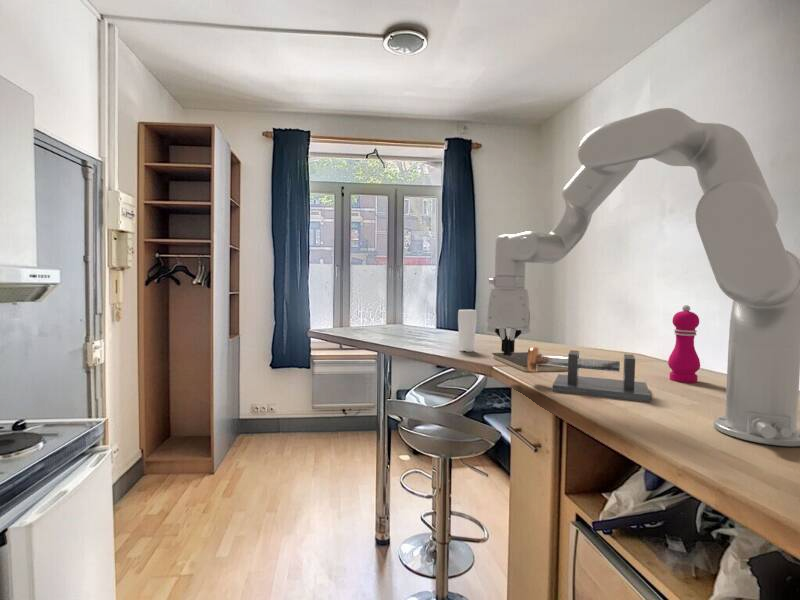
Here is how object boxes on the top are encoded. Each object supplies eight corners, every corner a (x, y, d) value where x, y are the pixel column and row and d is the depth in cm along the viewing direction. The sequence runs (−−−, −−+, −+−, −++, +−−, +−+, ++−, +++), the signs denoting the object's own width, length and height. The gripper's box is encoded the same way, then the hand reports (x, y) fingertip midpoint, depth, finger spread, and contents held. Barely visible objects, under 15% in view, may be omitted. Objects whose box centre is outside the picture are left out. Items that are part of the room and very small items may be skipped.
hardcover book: (523, 373, 128) (523, 365, 128) (492, 359, 151) (492, 352, 151) (574, 372, 131) (574, 364, 131) (536, 358, 154) (536, 352, 154)
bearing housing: (645, 388, 109) (646, 353, 109) (650, 402, 97) (652, 362, 96) (558, 379, 118) (559, 347, 117) (552, 391, 105) (553, 355, 104)
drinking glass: (454, 349, 167) (455, 309, 166) (470, 349, 169) (471, 309, 168) (462, 352, 161) (463, 310, 160) (479, 352, 163) (480, 310, 162)
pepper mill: (704, 384, 115) (708, 306, 115) (673, 382, 117) (676, 305, 116) (692, 378, 123) (695, 304, 122) (663, 376, 124) (666, 304, 123)
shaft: (618, 376, 108) (619, 352, 108) (619, 381, 103) (620, 355, 102) (530, 368, 116) (531, 345, 116) (526, 372, 111) (527, 348, 111)
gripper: (477, 283, 115) (475, 354, 115) (538, 284, 109) (535, 359, 109) (484, 283, 122) (482, 350, 122) (542, 284, 115) (539, 355, 116)
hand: (507, 354), depth 116 cm, fingers closed
